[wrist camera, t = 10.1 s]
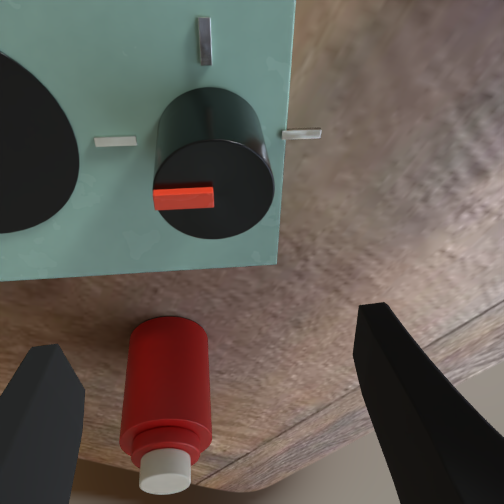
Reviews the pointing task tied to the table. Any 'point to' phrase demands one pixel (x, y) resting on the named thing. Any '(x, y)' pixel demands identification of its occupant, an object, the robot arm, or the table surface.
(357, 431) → the table surface
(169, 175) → the dial
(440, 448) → the robot arm
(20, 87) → the ring
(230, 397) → the table surface
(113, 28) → the hotplate
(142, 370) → the ketchup bottle
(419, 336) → the table surface
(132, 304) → the table surface
